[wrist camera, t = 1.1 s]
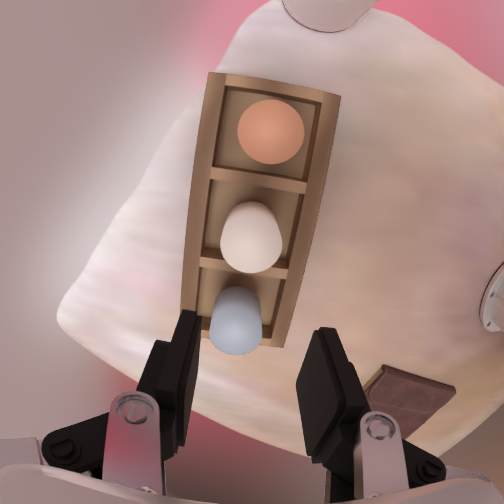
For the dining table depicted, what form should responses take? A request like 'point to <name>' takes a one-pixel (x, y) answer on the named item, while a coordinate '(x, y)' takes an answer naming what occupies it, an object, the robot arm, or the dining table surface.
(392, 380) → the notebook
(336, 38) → the dining table surface
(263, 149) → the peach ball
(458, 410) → the dining table surface
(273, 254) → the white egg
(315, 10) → the milk bottle
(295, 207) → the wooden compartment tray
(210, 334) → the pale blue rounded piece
